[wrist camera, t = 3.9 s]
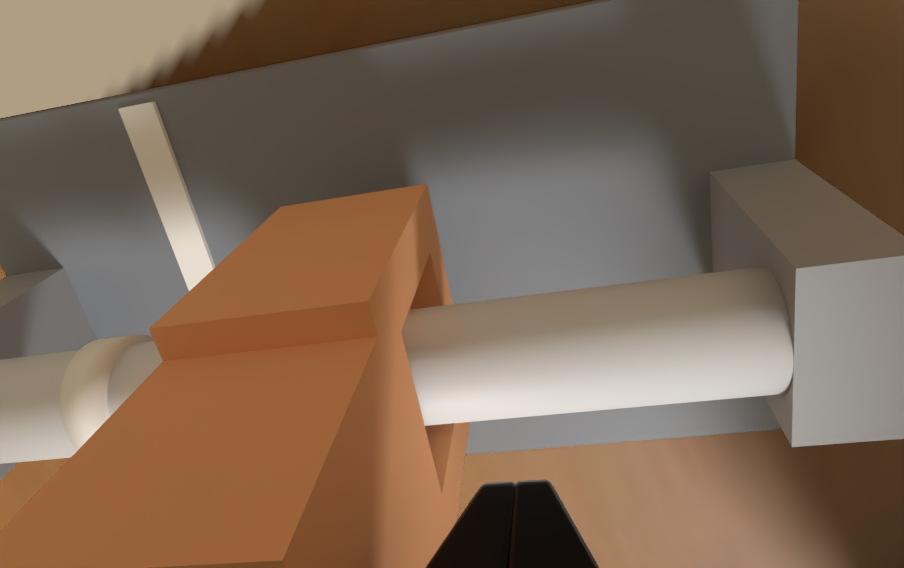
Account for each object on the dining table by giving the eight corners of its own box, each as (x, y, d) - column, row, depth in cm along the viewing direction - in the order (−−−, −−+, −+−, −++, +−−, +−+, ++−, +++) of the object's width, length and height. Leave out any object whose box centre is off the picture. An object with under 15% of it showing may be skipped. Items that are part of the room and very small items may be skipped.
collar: (427, 183, 13) (263, 511, 5) (472, 400, 15) (407, 874, 7) (281, 206, 13) (-73, 534, 5) (344, 412, 15) (151, 864, 7)
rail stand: (776, -36, 13) (969, -45, 7) (772, 398, 17) (893, 612, 11) (-25, 123, 16) (-326, 204, 10) (134, 455, 20) (-21, 642, 14)
